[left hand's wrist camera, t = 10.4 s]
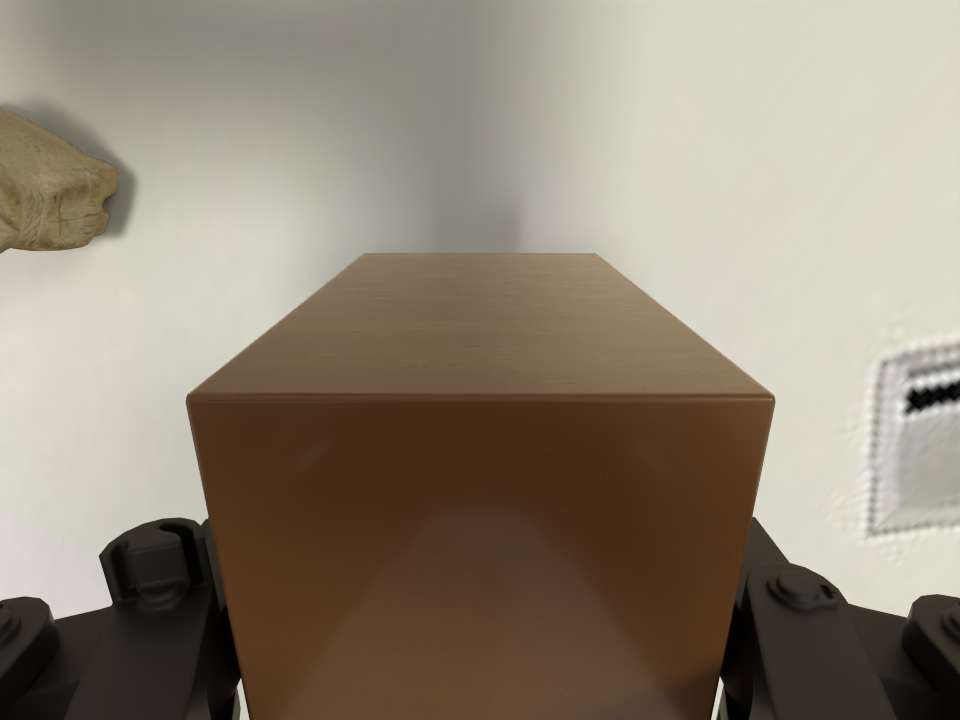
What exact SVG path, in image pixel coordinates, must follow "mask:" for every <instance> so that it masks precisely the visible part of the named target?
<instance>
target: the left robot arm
mask: <svg viewBox="0 0 960 720" xmlns="http://www.w3.org/2000/svg"><path fill="white" fill-rule="evenodd" d="M99 558H100V562H101V565H102V568H103V572H104V575H105V578H106V582H107V585H108V588H109V592H110V595H111V598H112V602H113V604H112V606H110V607H106V608H103V609H100V610H95V611H91V612H86V613H82V614H78V615H73V616H69V617H65V618H60V619H56V620H54V619H53V616H52V613H51V610H50V608H49V605H48V604H46V603H45V602H44V601H43V600H41V599H40V598H33V597H18V598H12V599H6V600H2V601H0V720H239V718H240V701H239V695H238V690H237V685H238V683H239V681H240V679H241V674H240V669H239V664H238V659H237V654H236V649H235V644H234V639H233V634H232V629H231V624H230V619H229V614H228V609H227V605H226V600H225V595H224V590H223V585H222V580H221V575H220V570H219V565H218V560H217V555H216V550H215V545H214V540H213V535H212V530H211V525H210V520H209V518H208V519H206V520H205V521H204V522H203V524H202V525H201V526H200V525H199V524H198V523H197V522H196V521H194V520H189V519H185V518H166V519H160V520H156V521H152V522H148V523H144V524H142V525H140V526H137V527H135V528H133V529H131V530H129V531H126V532H124V533H123V534H121V535H120V536H119V537H117V538H116V539H114V540H113V541H112V542H110V543H109V544H108V545H107V546H106V548H105V549H104V550H103V551H102V552H101V554H100V555H99ZM720 677H721V679H722V681H723V684H724V685H723V690H722V695H721V699H720V704H719V709H718V713H717V718H716V720H960V598H957V597H951V596H945V595H939V594H935V595H926V596H921V597H920V598H918V599H917V600H916V601H915V602H913V604H912V606H911V609H910V612H909V615H908V618H906V617H902V616H897V615H893V614H889V613H884V612H880V611H875V610H871V609H867V608H862V607H859V606H855V605H852V604H848V603H847V601H846V599H845V598H844V597H843V595H842V594H841V592H840V591H839V589H838V588H836V587H835V586H834V585H833V584H832V583H830V582H829V581H828V580H827V579H825V578H824V577H823V576H821V575H819V574H817V573H815V572H813V571H811V570H809V569H807V568H805V567H802V566H798V565H795V564H792V563H789V561H788V560H787V559H786V557H785V556H784V555H783V553H782V552H781V551H780V550H779V548H778V547H777V546H776V544H775V543H774V542H773V540H772V539H771V538H770V536H769V535H768V534H767V532H766V531H765V530H764V528H763V527H762V526H761V525H760V523H759V522H758V521H757V519H756V518H755V517H752V520H751V525H750V530H749V535H748V540H747V545H746V549H745V554H744V559H743V564H742V569H741V574H740V579H739V584H738V589H737V594H736V599H735V604H734V608H733V613H732V618H731V623H730V628H729V633H728V638H727V643H726V648H725V653H724V658H723V663H722V667H721V672H720Z"/></svg>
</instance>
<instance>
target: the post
mask: <svg viewBox="0 0 960 720" xmlns="http://www.w3.org/2000/svg"><path fill="white" fill-rule="evenodd" d="M186 406H187V411H188V416H189V421H190V426H191V431H192V436H193V441H194V446H195V451H196V456H197V460H198V465H199V470H200V475H201V480H202V485H203V490H204V495H205V500H206V505H207V510H208V515H209V520H210V525H211V530H212V535H213V540H214V545H215V550H216V555H217V560H218V565H219V570H220V575H221V580H222V585H223V590H224V595H225V600H226V605H227V609H228V614H229V619H230V624H231V629H232V634H233V639H234V644H235V649H236V654H237V659H238V664H239V669H240V674H241V679H242V684H243V689H244V694H245V699H246V704H247V709H248V714H249V719H250V720H711V717H712V712H713V707H714V702H715V697H716V692H717V687H718V682H719V677H720V672H721V667H722V663H723V658H724V653H725V648H726V643H727V638H728V633H729V628H730V623H731V618H732V613H733V608H734V604H735V599H736V594H737V589H738V584H739V579H740V574H741V569H742V564H743V559H744V554H745V549H746V545H747V540H748V535H749V530H750V525H751V520H752V515H753V510H754V505H755V500H756V495H757V490H758V486H759V481H760V476H761V471H762V466H763V461H764V456H765V451H766V446H767V441H768V436H769V431H770V426H771V422H772V417H773V412H774V407H775V397H774V395H773V394H772V393H771V392H770V391H768V390H767V389H766V388H764V387H763V386H762V385H761V384H759V383H758V382H757V381H756V380H754V379H753V378H752V377H751V376H749V375H748V374H747V373H746V372H744V371H743V370H742V369H741V368H739V367H738V366H737V365H736V364H734V363H733V362H732V361H731V360H729V359H728V358H727V357H726V356H724V355H723V354H722V353H721V352H719V351H718V350H717V349H716V348H714V347H713V346H712V345H710V344H709V343H708V342H707V341H705V340H704V339H703V338H702V337H700V336H699V335H698V334H697V333H695V332H694V331H693V330H692V329H690V328H689V327H688V326H687V325H685V324H684V323H683V322H682V321H680V320H679V319H678V318H677V317H675V316H674V315H673V314H672V313H670V312H669V311H668V310H667V309H665V308H664V307H663V306H662V305H660V304H659V303H658V302H656V301H655V300H654V299H653V298H651V297H650V296H649V295H648V294H646V293H645V292H644V291H643V290H641V289H640V288H639V287H638V286H636V285H635V284H634V283H633V282H631V281H630V280H629V279H628V278H626V277H625V276H624V275H623V274H621V273H620V272H619V271H618V270H616V269H615V268H614V267H613V266H611V265H610V264H609V263H608V262H606V261H605V260H604V259H602V258H601V257H600V256H599V255H597V254H556V253H365V254H363V255H362V256H360V257H359V258H358V259H357V260H355V261H354V262H353V263H352V264H350V265H349V266H348V267H347V268H345V269H344V270H343V271H342V272H340V273H339V274H338V275H337V276H335V277H334V278H333V279H332V280H330V281H329V282H328V283H327V284H325V285H324V286H323V287H322V288H320V289H319V290H318V291H317V292H315V293H314V294H313V295H312V296H310V297H309V298H308V299H306V300H305V301H304V302H303V303H301V304H300V305H299V306H298V307H296V308H295V309H294V310H293V311H291V312H290V313H289V314H288V315H286V316H285V317H284V318H283V319H281V320H280V321H279V322H278V323H276V324H275V325H274V326H273V327H271V328H270V329H269V330H268V331H266V332H265V333H264V334H263V335H261V336H260V337H259V338H258V339H256V340H255V341H254V342H253V343H251V344H250V345H249V346H248V347H246V348H245V349H244V350H243V351H241V352H240V353H239V354H238V355H236V356H235V357H234V358H233V359H231V360H230V361H229V362H228V363H226V364H225V365H224V366H223V367H221V368H220V369H219V370H218V371H216V372H215V373H214V374H213V375H211V376H210V377H209V378H208V379H206V380H205V381H204V382H203V383H201V384H200V385H199V386H198V387H196V388H195V389H194V390H193V391H191V392H190V393H189V394H188V395H187V397H186Z"/></svg>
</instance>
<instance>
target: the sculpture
mask: <svg viewBox="0 0 960 720" xmlns="http://www.w3.org/2000/svg"><path fill="white" fill-rule="evenodd" d="M117 179H118V172H117V169H116V168H115V167H113V166H112V165H110V164H108V163H107V162H105V161H102V160H97V159H94V158H91V157H89V156H87V155H85V154H84V153H82V152H80V151H79V150H78V149H76V148H75V147H74V146H72V145H71V144H70V143H68V142H67V141H66V140H64V139H62V138H61V137H59V136H57V135H55V134H53V133H51V132H49V131H48V130H46V129H44V128H42V127H40V126H38V125H36V124H34V123H32V122H31V121H29V120H26V119H24V118H22V117H20V116H18V115H16V114H13V113H10V112H8V111H5V110H3V109H0V254H1V253H2V252H4V251H5V250H7V249H9V248H14V249H20V250H28V251H58V250H68V249H73V248H79V247H83V246H85V245H87V244H88V243H89V242H90V241H91V240H92V238H93V237H94V236H97V235H101V234H102V233H104V231H105V229H106V226H107V223H108V220H109V213H108V211H107V210H106V209H105V208H104V207H103V202H104V200H105V199H106V198H107V197H109V196H110V195H112V194H113V193H115V191H116V187H117Z"/></svg>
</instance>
